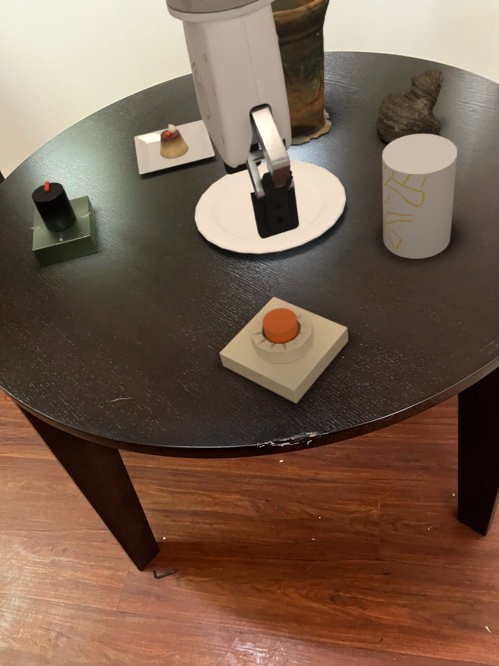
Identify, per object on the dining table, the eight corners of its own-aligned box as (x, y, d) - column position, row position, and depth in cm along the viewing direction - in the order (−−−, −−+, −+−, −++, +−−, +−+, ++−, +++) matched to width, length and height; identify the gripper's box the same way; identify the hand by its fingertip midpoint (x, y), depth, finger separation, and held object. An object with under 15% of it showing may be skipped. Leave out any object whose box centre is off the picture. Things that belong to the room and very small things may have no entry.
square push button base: (296, 403, 67) (292, 379, 64) (222, 365, 72) (215, 341, 69) (348, 341, 71) (346, 315, 68) (276, 309, 76) (271, 284, 73)
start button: (285, 348, 67) (283, 337, 66) (258, 336, 69) (255, 324, 68) (305, 326, 69) (303, 315, 68) (278, 314, 71) (275, 303, 69)
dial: (76, 226, 89) (62, 194, 85) (45, 234, 89) (30, 202, 85) (75, 208, 92) (62, 177, 88) (45, 216, 92) (30, 185, 88)
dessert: (141, 180, 100) (132, 153, 97) (135, 142, 109) (127, 116, 105) (216, 161, 101) (210, 134, 97) (205, 125, 109) (199, 98, 106)
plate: (232, 163, 100) (230, 153, 98) (365, 175, 92) (364, 165, 91) (171, 249, 87) (168, 240, 86) (318, 272, 80) (316, 262, 78)
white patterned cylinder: (370, 232, 83) (368, 150, 75) (424, 209, 85) (428, 126, 76) (407, 267, 78) (409, 183, 69) (464, 241, 79) (472, 156, 71)
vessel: (340, 96, 108) (332, -33, 94) (335, 143, 99) (325, 7, 84) (256, 103, 111) (235, -21, 97) (243, 149, 102) (219, 18, 87)
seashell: (466, 110, 88) (463, 74, 94) (392, 71, 85) (393, 36, 92) (418, 171, 96) (417, 134, 103) (349, 137, 94) (352, 101, 100)
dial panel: (99, 251, 90) (91, 233, 87) (38, 267, 89) (29, 250, 87) (96, 211, 96) (89, 193, 94) (40, 225, 96) (31, 208, 94)
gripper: (140, -47, 46) (193, 160, 59) (194, 39, 34) (246, 276, 47) (239, -74, 47) (271, 136, 59) (326, 1, 35) (343, 245, 47)
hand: (260, 198), depth 53 cm, fingers open, 9 cm apart
